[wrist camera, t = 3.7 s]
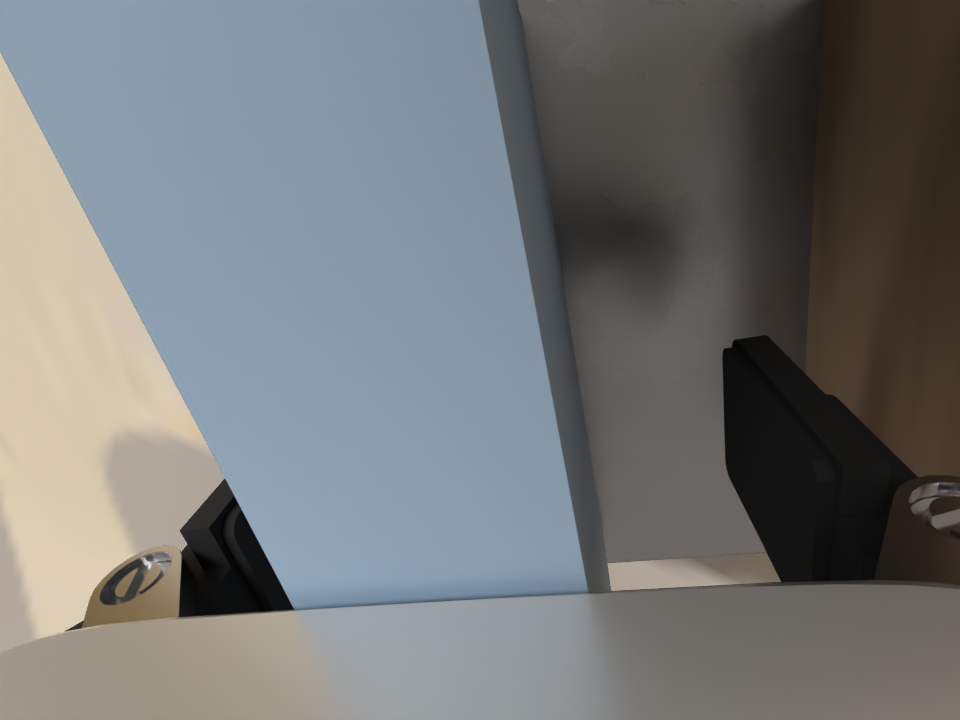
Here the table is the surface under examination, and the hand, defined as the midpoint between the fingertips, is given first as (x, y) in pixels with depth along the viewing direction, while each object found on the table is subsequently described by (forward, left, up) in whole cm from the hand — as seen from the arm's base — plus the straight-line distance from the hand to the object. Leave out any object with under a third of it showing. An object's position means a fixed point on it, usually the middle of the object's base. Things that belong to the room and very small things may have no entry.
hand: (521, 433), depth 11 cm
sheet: (0, 0, -5) cm, 5 cm away
